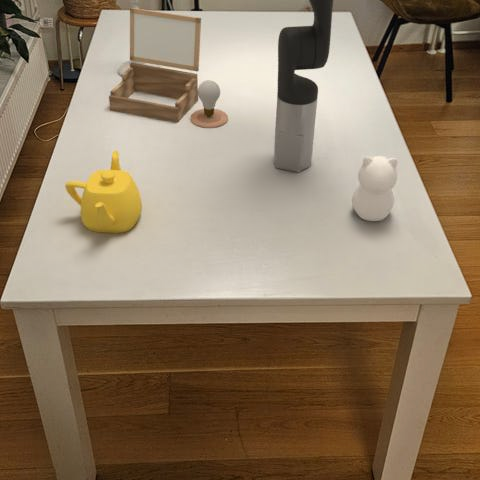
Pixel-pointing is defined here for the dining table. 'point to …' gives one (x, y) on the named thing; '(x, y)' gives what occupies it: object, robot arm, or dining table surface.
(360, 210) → the cat figurine
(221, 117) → the saucer
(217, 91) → the light bulb
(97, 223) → the teapot
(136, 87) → the cold frame
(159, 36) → the lid
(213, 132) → the dining table surface
